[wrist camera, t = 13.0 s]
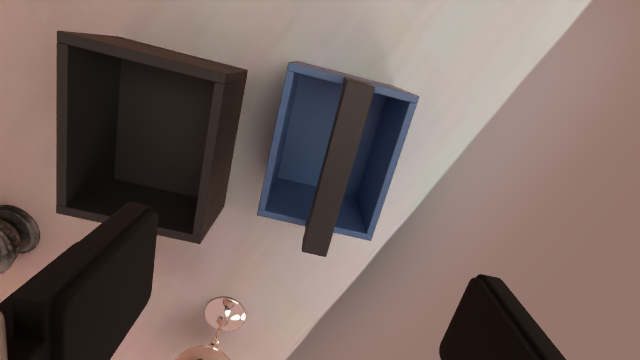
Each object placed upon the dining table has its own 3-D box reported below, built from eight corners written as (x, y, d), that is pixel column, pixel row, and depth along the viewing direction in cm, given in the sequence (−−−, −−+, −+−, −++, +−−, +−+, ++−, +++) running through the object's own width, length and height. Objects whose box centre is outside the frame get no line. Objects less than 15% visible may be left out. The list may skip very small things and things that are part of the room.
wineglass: (189, 299, 37) (132, 405, 26) (240, 286, 37) (204, 388, 25) (211, 340, 39) (166, 456, 28) (259, 328, 39) (233, 441, 27)
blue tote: (296, 61, 29) (282, 63, 18) (394, 86, 30) (437, 103, 19) (271, 179, 33) (246, 240, 22) (359, 199, 34) (378, 268, 23)
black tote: (117, 36, 29) (56, 30, 22) (247, 70, 30) (226, 74, 23) (109, 181, 33) (56, 213, 26) (223, 207, 34) (200, 244, 27)
